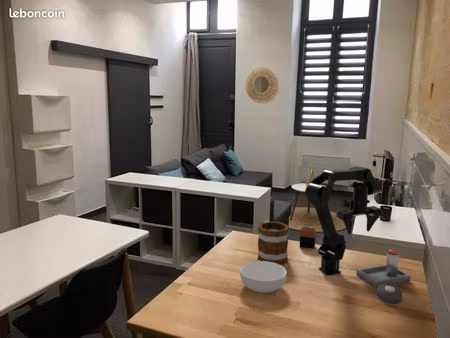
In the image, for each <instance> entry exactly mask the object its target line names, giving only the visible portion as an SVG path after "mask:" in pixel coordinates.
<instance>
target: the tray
mask: <svg viewBox="0 0 450 338" xmlns="http://www.w3.org/2000/svg"><path fill="white" fill-rule="evenodd" d="M385 268H386V263H385V264H381V265H380V264H379V265H374V266H369V267H364V268H358V269H356V276H357V277H358V278H360V279H361V280H363V281H364V282H366V283H367V284H369V285H370V286H372V287H373V288H375V289H377V288H378V286H379V285H381V284H390V285H394V286H397V285H400V284H405V283H410V282H411V276H412V275H410V274H409V273H407V272H405V271H403V270H402V269H400V268H398V273H397V277H390V276H387V275H386V274H385Z"/></svg>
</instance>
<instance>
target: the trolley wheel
mask: <svg viewBox="0 0 450 338" xmlns="http://www.w3.org/2000/svg"><path fill="white" fill-rule="evenodd" d="M376 297H377V298H378V299H379V300H380V301H382V302H384V303H387V304H400V303H401V302H402V301H403V290H402V289H401V288H400V287H398V286H397V285H390V284H381V285H379V286H378V288H377V291H376Z"/></svg>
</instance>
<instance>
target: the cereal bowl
mask: <svg viewBox="0 0 450 338" xmlns="http://www.w3.org/2000/svg"><path fill="white" fill-rule="evenodd" d="M287 272H288V271H287V269H286V268H285V267H284V266H283V265H279V264H276V263H273V262H267V261H258V260H257V261H251V262H248V263H245V264H244V265H242V267H241V268H240V269H239V275H240V279H241V282H242V284H244V286H245V287H246V288H248V289H250V290H251V291H254V292H256V293H259V294H269V293H272V292H275V291H277V290H279V289H280V288H282V287H283V286H284V285H285V283H286V281H287V274H288V273H287Z"/></svg>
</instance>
